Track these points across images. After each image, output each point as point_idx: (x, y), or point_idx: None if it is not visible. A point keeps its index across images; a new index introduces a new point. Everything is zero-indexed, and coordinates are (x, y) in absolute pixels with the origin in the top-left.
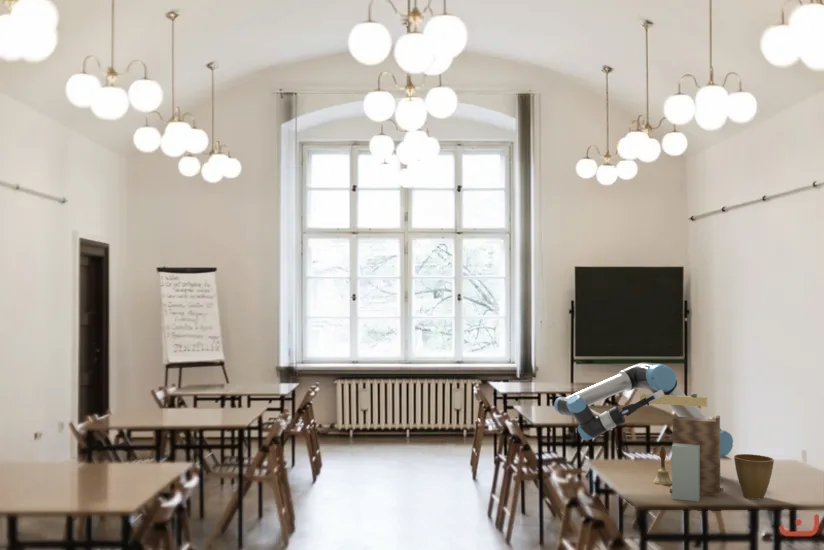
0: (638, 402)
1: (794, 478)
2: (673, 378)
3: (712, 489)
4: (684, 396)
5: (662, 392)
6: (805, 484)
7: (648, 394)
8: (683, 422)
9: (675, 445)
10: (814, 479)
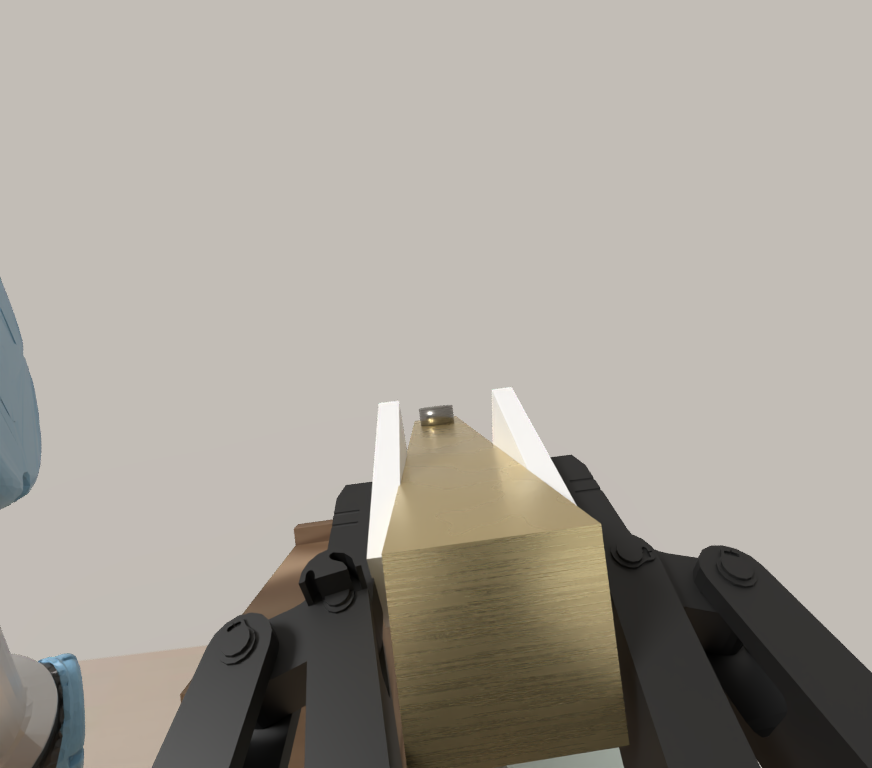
0: (857, 675)
1: (93, 693)
2: (22, 360)
3: None
4: (445, 427)
5: (402, 431)
6: (183, 664)
7: (462, 488)
8: (387, 629)
9: (613, 764)
10: (120, 659)
